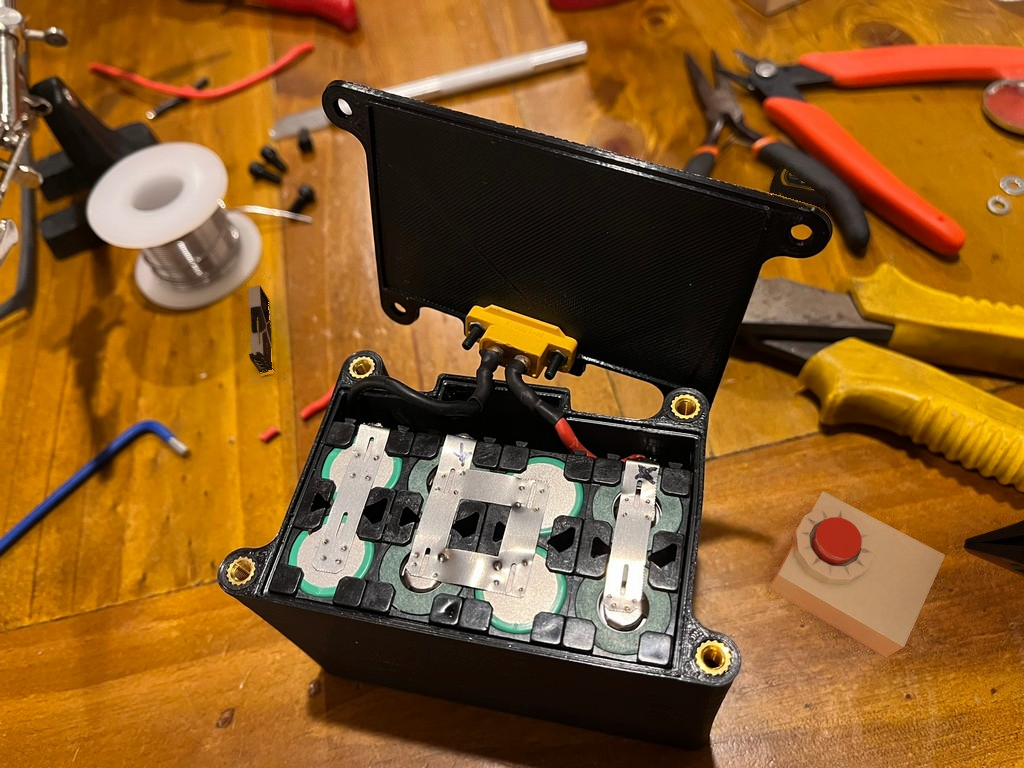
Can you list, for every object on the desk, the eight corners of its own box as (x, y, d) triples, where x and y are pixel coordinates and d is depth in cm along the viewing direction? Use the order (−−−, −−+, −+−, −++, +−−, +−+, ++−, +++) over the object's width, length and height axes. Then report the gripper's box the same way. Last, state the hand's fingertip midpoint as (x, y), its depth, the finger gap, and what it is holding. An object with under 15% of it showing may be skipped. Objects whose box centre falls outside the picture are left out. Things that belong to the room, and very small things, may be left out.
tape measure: (765, 216, 101) (770, 196, 98) (769, 177, 104) (775, 156, 101) (820, 221, 99) (827, 201, 96) (823, 182, 103) (830, 161, 99)
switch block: (925, 570, 77) (953, 549, 71) (886, 657, 73) (911, 643, 67) (806, 506, 81) (822, 481, 75) (763, 586, 78) (777, 566, 72)
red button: (863, 537, 73) (869, 531, 71) (846, 572, 71) (851, 567, 70) (822, 515, 74) (827, 509, 73) (804, 549, 73) (809, 543, 71)
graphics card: (275, 375, 97) (271, 354, 93) (253, 377, 97) (248, 355, 93) (270, 302, 103) (266, 278, 99) (250, 303, 102) (245, 279, 98)
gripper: (1172, 377, 53) (940, 401, 65) (1151, 636, 45) (893, 605, 58) (1227, 463, 57) (1000, 470, 70) (1216, 711, 50) (963, 668, 62)
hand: (966, 546), depth 65 cm, fingers closed
